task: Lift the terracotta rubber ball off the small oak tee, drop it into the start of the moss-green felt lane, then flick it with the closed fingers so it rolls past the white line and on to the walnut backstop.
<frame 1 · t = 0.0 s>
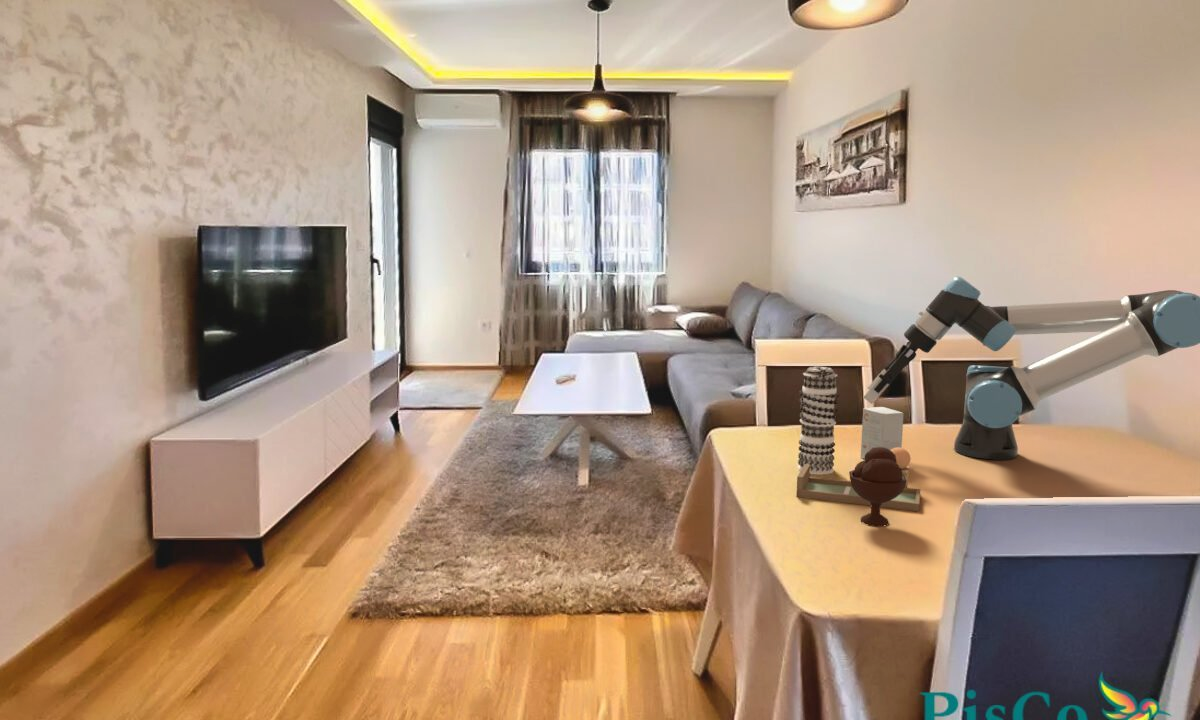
hand: (869, 395, 217), 15 cm above the table, tool tilted 35°, fingers open, 13 cm apart
small box: (880, 461, 213), on the table
ice cream bowl: (874, 522, 168), on the table
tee: (896, 488, 190), on the table
lane: (858, 496, 184), on the table
decorative candle: (815, 470, 204), on the table
ball: (898, 458, 189), point 7 cm above the table, touching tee
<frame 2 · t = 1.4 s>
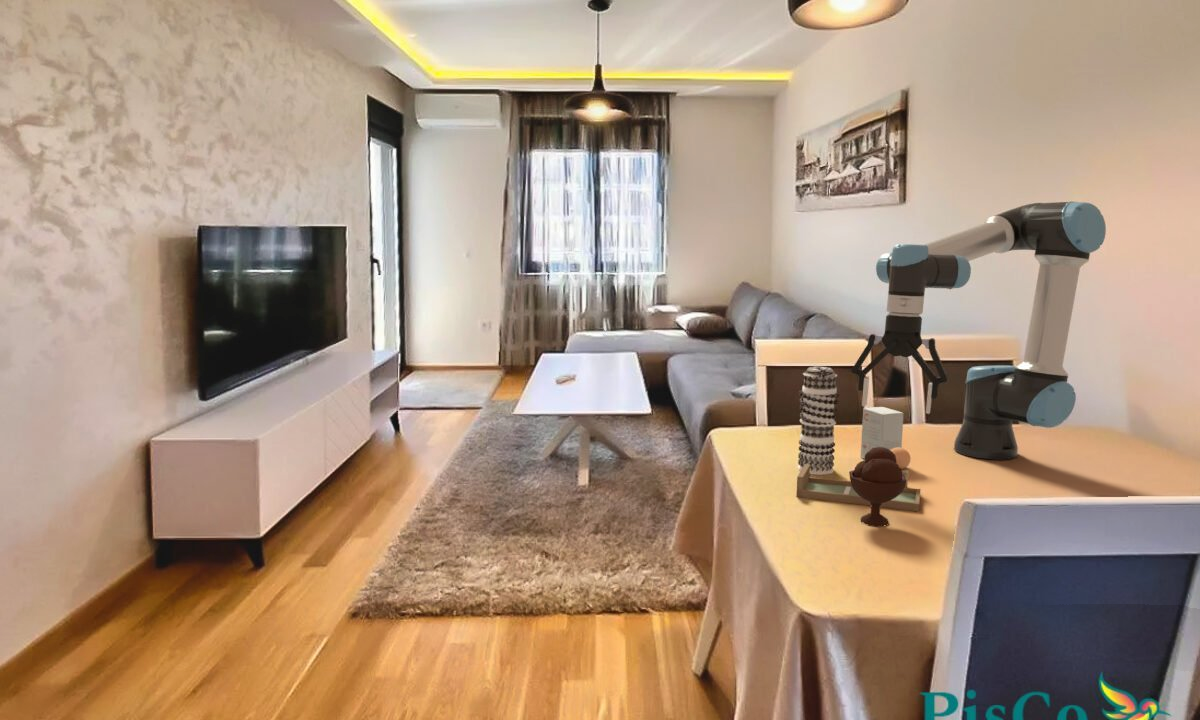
hand: (895, 409, 189), 18 cm above the table, tool pointing down, fingers open, 13 cm apart
nothing on the table moved.
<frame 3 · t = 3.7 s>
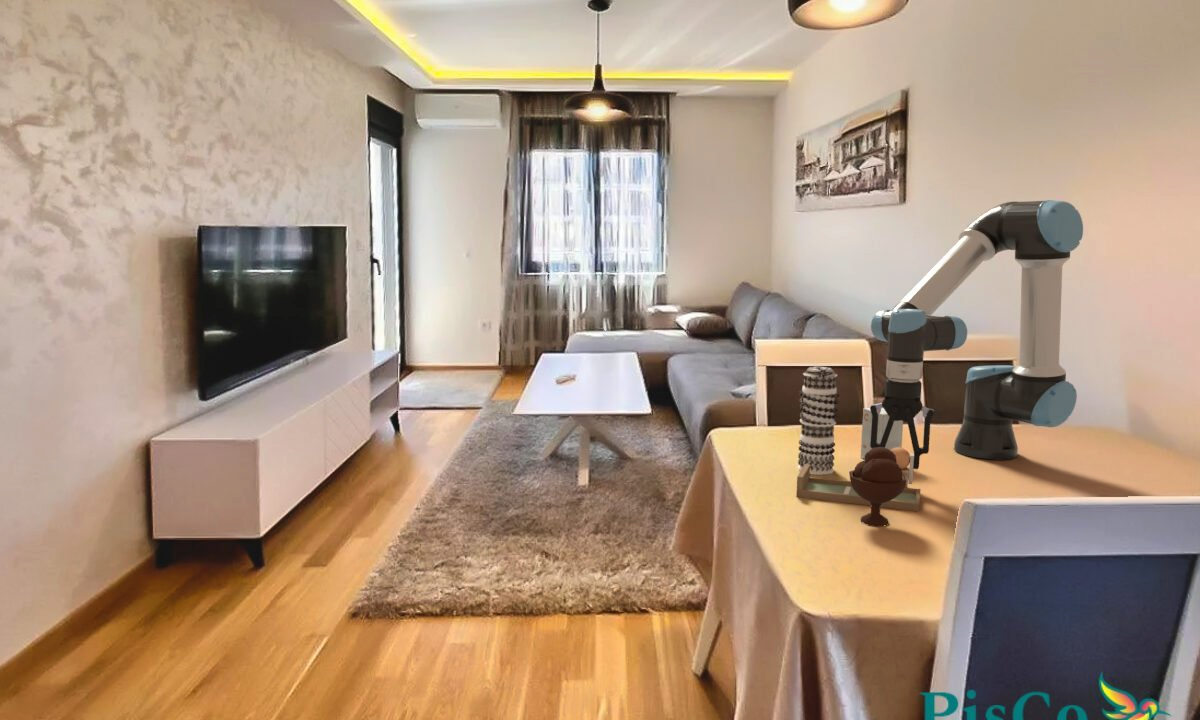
hand: (897, 480, 190), 2 cm above the table, tool pointing down, fingers closed on ball, 5 cm apart
ball: (898, 458, 189), point 7 cm above the table, touching gripper, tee
everything else where it was.
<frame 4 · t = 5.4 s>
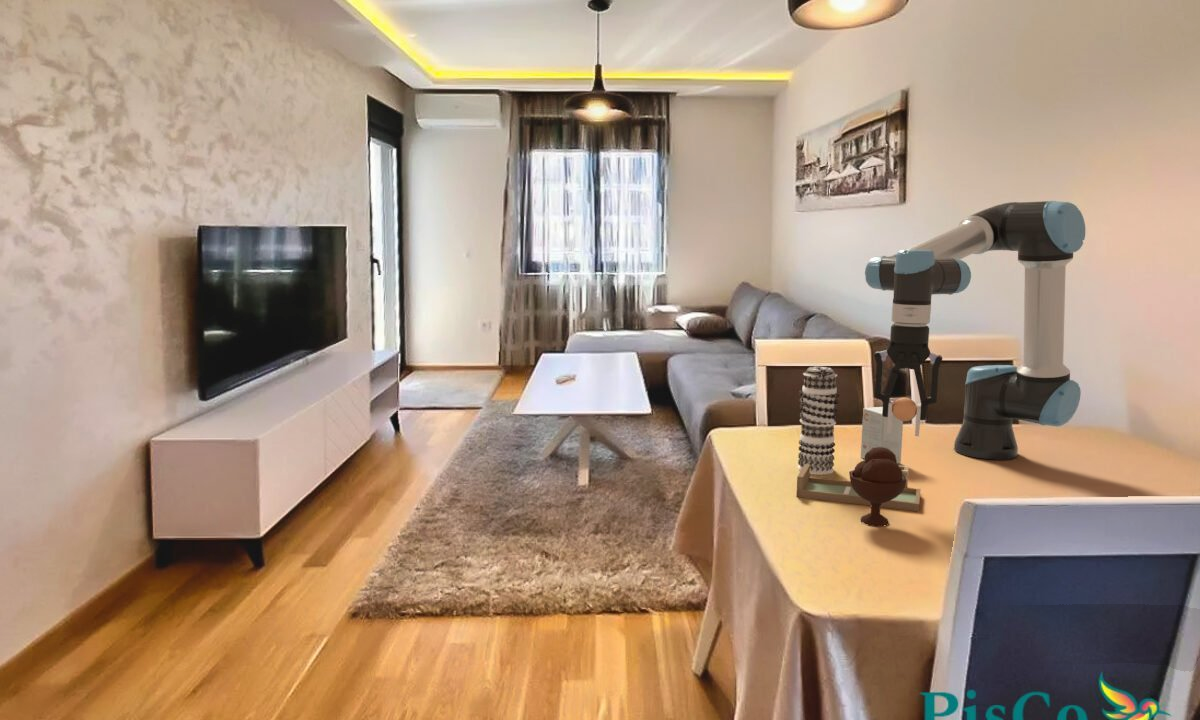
hand: (902, 433, 179), 15 cm above the table, tool pointing down, fingers closed on ball, 5 cm apart
ball: (904, 409, 178), point 20 cm above the table, touching gripper
everything else where it was.
when the fingers open (2 cm above the table, at t = 7.6 s): ball drops 4 cm, resting on lane.
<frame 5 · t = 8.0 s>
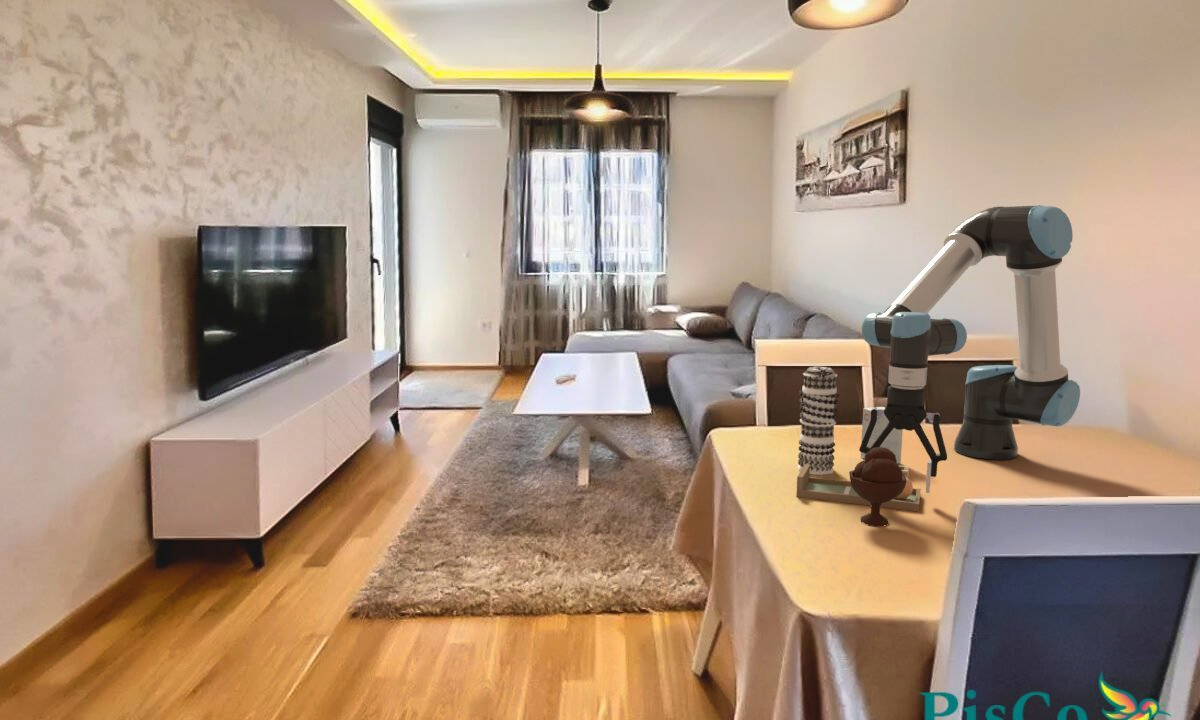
hand: (900, 487, 180), 3 cm above the table, tool pointing down, fingers open, 10 cm apart
ball: (900, 487, 180), point 3 cm above the table, touching lane
everything else where it was.
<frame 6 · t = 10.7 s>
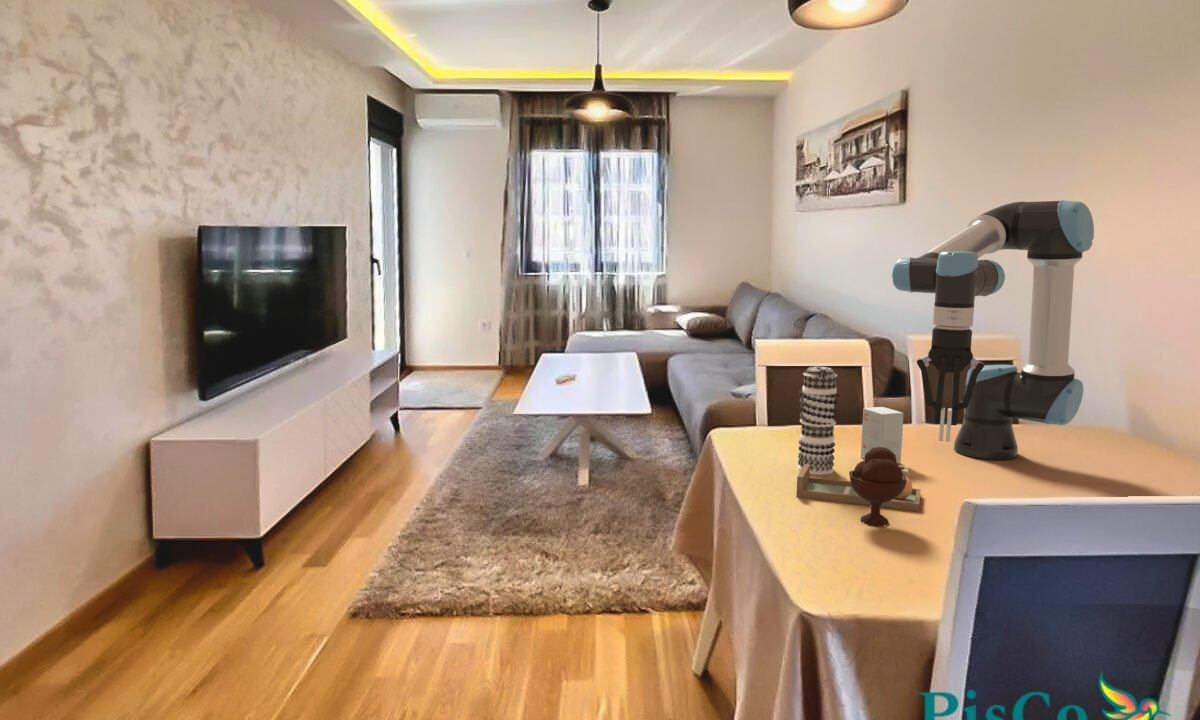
hand: (944, 439, 176), 14 cm above the table, tool pointing down, fingers closed
nothing on the table moved.
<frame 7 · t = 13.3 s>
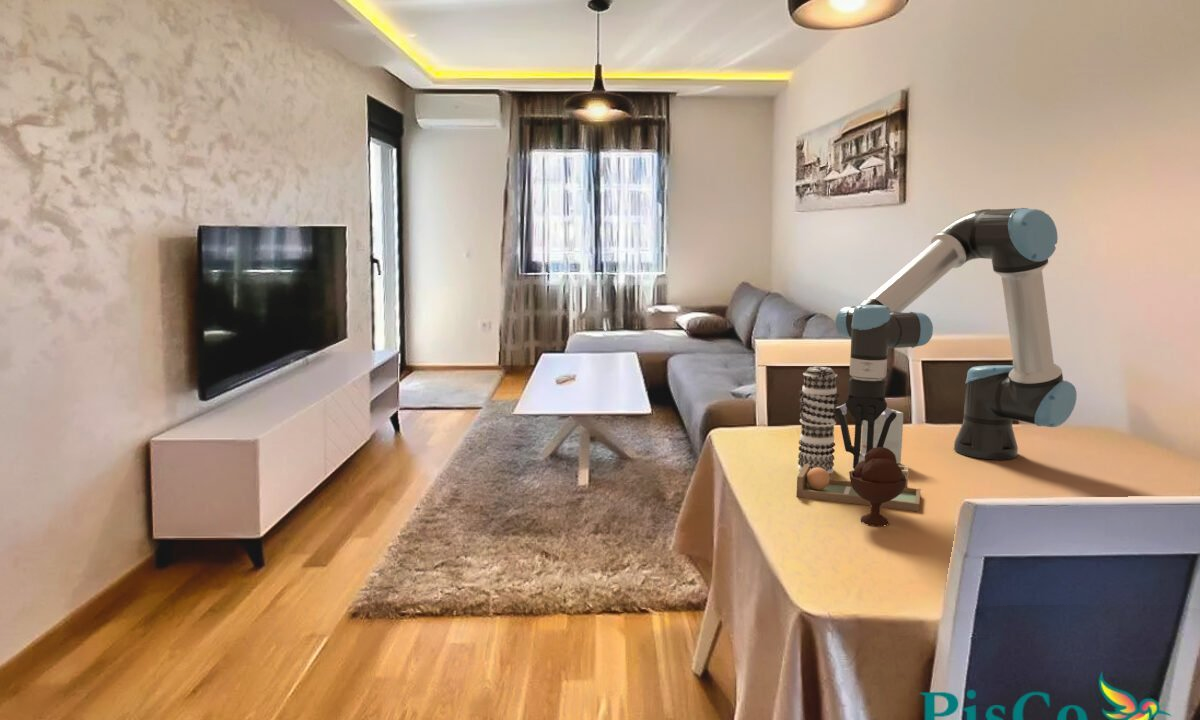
hand: (861, 484, 183), 3 cm above the table, tool pointing down, fingers closed
ball: (817, 478, 186), point 3 cm above the table, tilted 9°, touching lane
everything else where it was.
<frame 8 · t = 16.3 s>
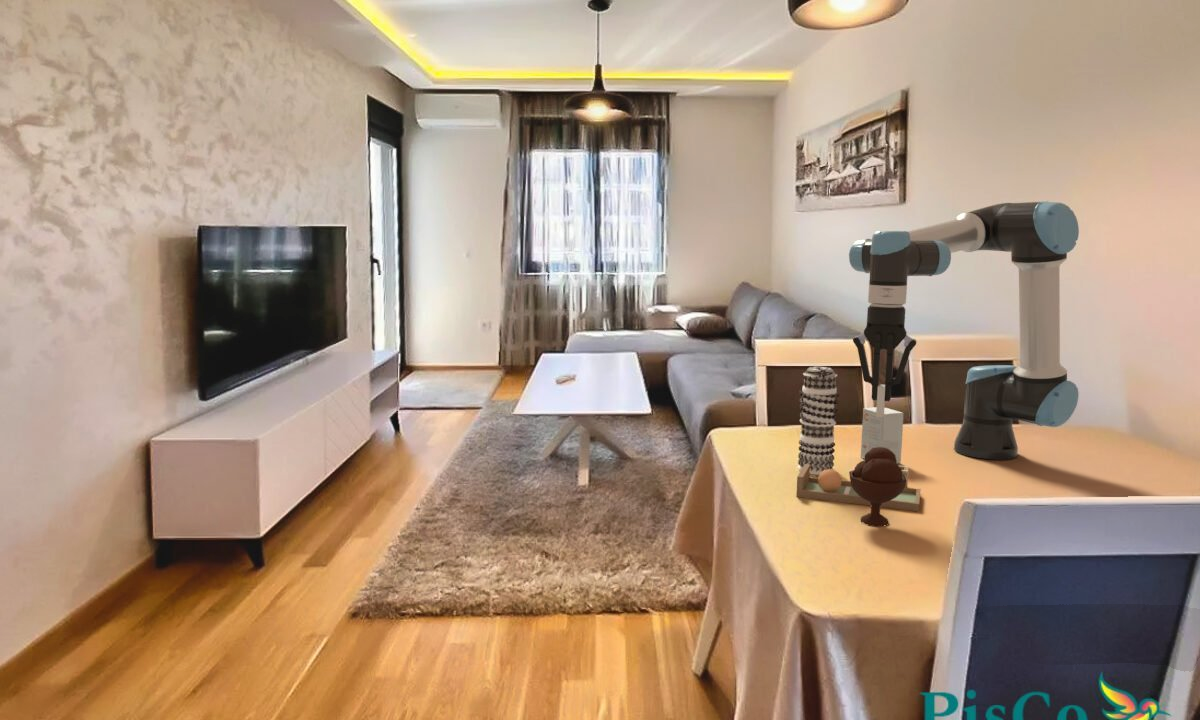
hand: (880, 415, 180), 18 cm above the table, tool pointing down, fingers closed
ball: (829, 480, 185), point 3 cm above the table, tilted 69°, touching lane
everything else where it was.
at the end: ball inside the target area (3.2 cm from its centre), point 3.1 cm above the table; the gripper is holding nothing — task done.
